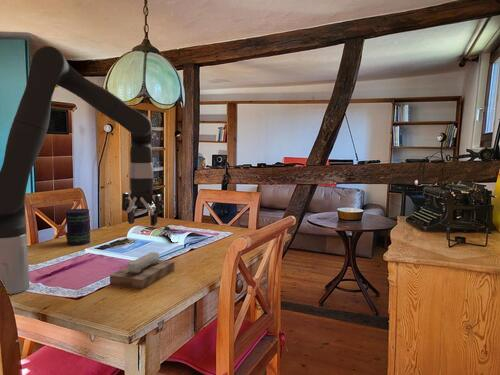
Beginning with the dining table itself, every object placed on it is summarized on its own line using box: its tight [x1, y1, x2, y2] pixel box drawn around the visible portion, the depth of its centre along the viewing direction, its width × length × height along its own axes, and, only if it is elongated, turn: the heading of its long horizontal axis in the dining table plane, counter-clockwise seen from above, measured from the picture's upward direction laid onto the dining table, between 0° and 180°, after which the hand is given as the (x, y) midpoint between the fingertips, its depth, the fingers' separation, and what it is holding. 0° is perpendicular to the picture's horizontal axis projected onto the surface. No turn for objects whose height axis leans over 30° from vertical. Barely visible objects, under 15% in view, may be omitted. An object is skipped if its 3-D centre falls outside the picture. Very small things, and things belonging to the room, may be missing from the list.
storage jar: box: [65, 208, 91, 247], centre depth 175 cm, size 10×10×15 cm
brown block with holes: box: [109, 259, 175, 290], centre depth 133 cm, size 20×12×3 cm, turn 161°
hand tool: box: [163, 225, 173, 232], centre depth 186 cm, size 19×4×5 cm, turn 23°
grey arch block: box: [126, 252, 160, 275], centre depth 132 cm, size 14×3×6 cm, turn 161°
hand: (142, 224), depth 131 cm, fingers open, 8 cm apart
